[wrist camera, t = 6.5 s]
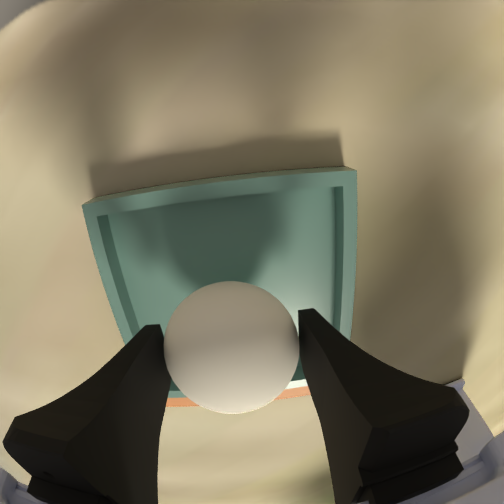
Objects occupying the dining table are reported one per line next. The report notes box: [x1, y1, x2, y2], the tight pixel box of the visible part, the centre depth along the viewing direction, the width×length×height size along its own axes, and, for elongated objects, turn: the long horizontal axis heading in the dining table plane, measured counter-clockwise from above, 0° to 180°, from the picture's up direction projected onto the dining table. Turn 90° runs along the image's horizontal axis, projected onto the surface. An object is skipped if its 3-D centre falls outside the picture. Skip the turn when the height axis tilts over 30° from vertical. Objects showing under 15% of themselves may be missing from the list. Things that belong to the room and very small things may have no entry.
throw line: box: [166, 386, 311, 407], centre depth 17 cm, size 18×1×1 cm, turn 96°
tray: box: [82, 166, 357, 398], centre depth 14 cm, size 11×11×1 cm
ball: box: [164, 281, 299, 414], centre depth 11 cm, size 5×5×5 cm
